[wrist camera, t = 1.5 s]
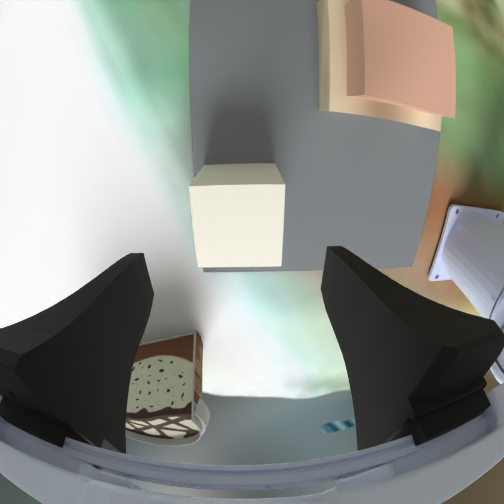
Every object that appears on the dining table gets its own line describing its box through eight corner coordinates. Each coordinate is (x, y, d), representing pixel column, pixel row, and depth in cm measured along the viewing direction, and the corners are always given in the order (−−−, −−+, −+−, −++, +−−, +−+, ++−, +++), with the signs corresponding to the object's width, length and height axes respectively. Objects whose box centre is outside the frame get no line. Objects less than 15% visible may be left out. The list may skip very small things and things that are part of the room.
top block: (275, 163, 17) (285, 184, 13) (273, 227, 19) (281, 266, 15) (204, 164, 17) (188, 186, 13) (208, 228, 19) (197, 267, 15)
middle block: (429, 32, 10) (452, 26, 7) (430, 114, 13) (454, 118, 10) (344, 5, 10) (360, -9, 7) (346, 96, 13) (364, 95, 10)
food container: (146, 377, 30) (130, 445, 22) (117, 347, 27) (90, 420, 19) (235, 363, 28) (233, 445, 20) (209, 327, 25) (198, 420, 17)
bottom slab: (420, 30, 11) (439, 25, 9) (420, 126, 15) (440, 131, 13) (316, 2, 11) (326, -11, 9) (318, 110, 15) (329, 110, 13)
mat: (429, 1, 10) (434, -1, 9) (408, 261, 22) (411, 266, 21) (194, -35, 10) (192, -39, 9) (205, 266, 22) (203, 272, 21)
